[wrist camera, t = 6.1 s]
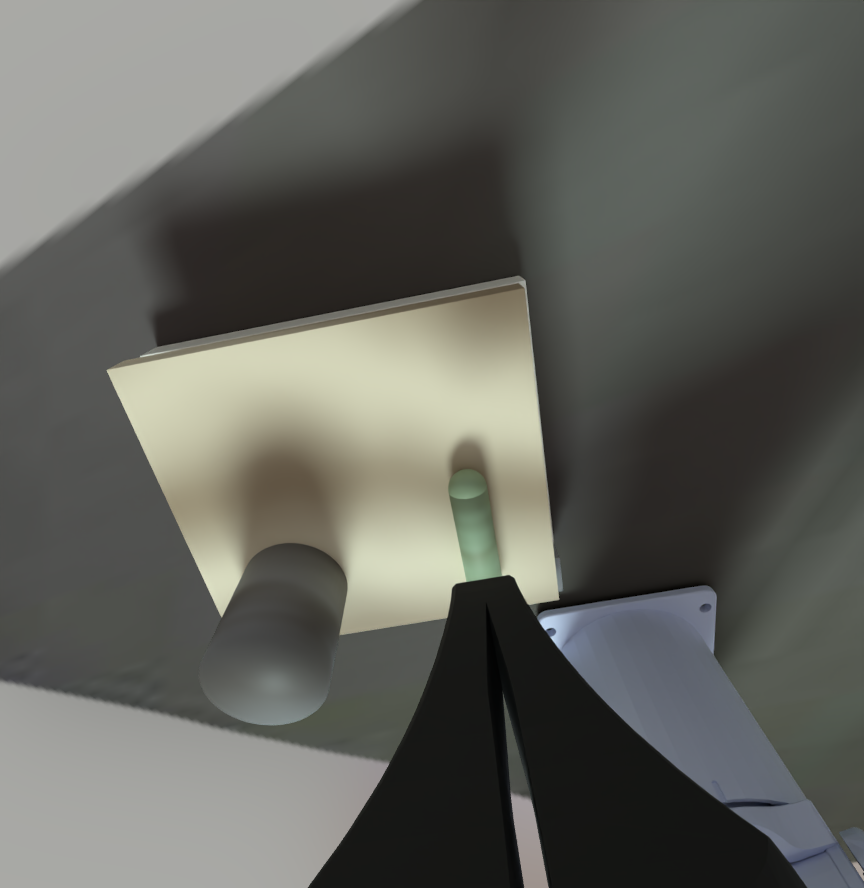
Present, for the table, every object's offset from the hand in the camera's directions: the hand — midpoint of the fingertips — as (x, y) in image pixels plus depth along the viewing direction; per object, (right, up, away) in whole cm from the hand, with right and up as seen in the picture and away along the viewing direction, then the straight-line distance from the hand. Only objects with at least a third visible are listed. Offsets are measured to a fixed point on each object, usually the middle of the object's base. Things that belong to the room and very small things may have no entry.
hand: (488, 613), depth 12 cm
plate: (-4, +2, +6) cm, 7 cm away
